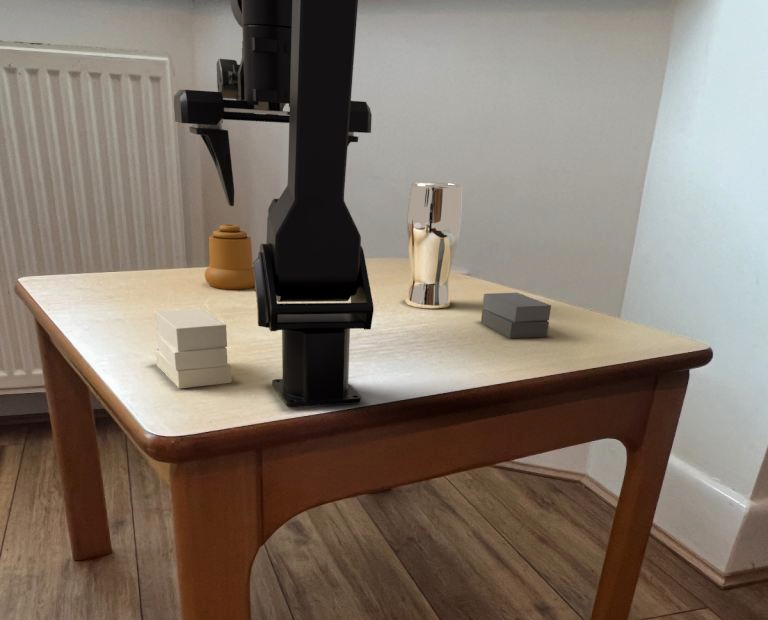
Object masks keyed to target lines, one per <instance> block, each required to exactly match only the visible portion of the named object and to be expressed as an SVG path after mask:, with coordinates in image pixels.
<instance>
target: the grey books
mask: <svg viewBox="0 0 768 620" xmlns="http://www.w3.org/2000/svg"><path fill="white" fill-rule="evenodd" d="M482 298H483V299H482V310H481V316H480V317H481V319H480V324H482V325H483V326H486V327H488V328H489V329H492V330H493V331H495V332H497V333H499V334H500V335H503V336H504V337H506V338H508V339H527V338H528V339H529V338H547V337H548V332H549V324H550V316H551V309H552V305H551V304H549V303H546V302H544V301H540V300H538V299H535V298H532V297H530V296H527V295H525V294H522V293H519V292H497V293H496V292H495V293H484V294H483V297H482Z"/></svg>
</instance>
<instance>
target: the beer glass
mask: <svg viewBox="0 0 768 620" xmlns="http://www.w3.org/2000/svg"><path fill="white" fill-rule="evenodd" d="M463 187H464V186H463V185H462V184H457V183H449V182H437V181H436V182H435V181H413V182H412V181H411V183H410V191H409V198H408V206H407V218H406V219H407V220H406V234H407V235H406V236H407V247H408V258H409V283H408V287H407V290H406V291H407V292H406V295H405V303H406V304H407V306H411V307H414V308H420V309H421V308H422V309H432V310H433V309H435V310H436V309H445V308H448V307H450V305H451V298H450V297H451V296H450V276H451V275H450V274H451V270H452V265H453V261H454V258H455V253H456V250H457V245H458V242H459V237H460V233H461V224H462V213H463Z"/></svg>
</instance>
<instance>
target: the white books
mask: <svg viewBox="0 0 768 620" xmlns="http://www.w3.org/2000/svg"><path fill="white" fill-rule="evenodd" d="M156 340H157V348H155V350H154V352H155V359H156V366H157V367H158V369H160V370H161V372H162V373H163V374H164V375H165V376H166V377H167V378H168V379H169V380H170V381H171V382H172V383H173V385H175V386H176V387H177V388H178V389H179V390H180V389H189V388H196V387H206V386H214V385H215V386H216V385H224V384H231V383H232V381H233V380H232V379H233V378H232V366H231V364H230V363H228V348H227V347H222V348H211V349H201V350H190V351H177V350H176V349H175V348H174V347H173V346H172V345H170V344H169V343H168V342H167V341H166V340H165V339H164V338H163V337H162V336H160V335H159V334H158V333H157V332H156Z"/></svg>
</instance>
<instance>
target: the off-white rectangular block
mask: <svg viewBox="0 0 768 620" xmlns="http://www.w3.org/2000/svg"><path fill="white" fill-rule="evenodd" d="M154 321H155V332H156V334H157V333H158V334H159V335H160V336H162V337H163V338H164V339H165V340H166V341H167V342H168V343H169V344H170V345H172V346H173V347H174V348H175V349H176V350H177V351H190V350H201V349H211V348H222V347H225V348H227V347H228V336H227V324H226V323H224V322H223V321H222V320H220V319H218V318H217V317H215V316H214V315H213V314H212V313H210V312H208V311H207V310H206V309H204V308H202V307H191V308H176V309H173V308H172V309H160V310H154Z"/></svg>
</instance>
